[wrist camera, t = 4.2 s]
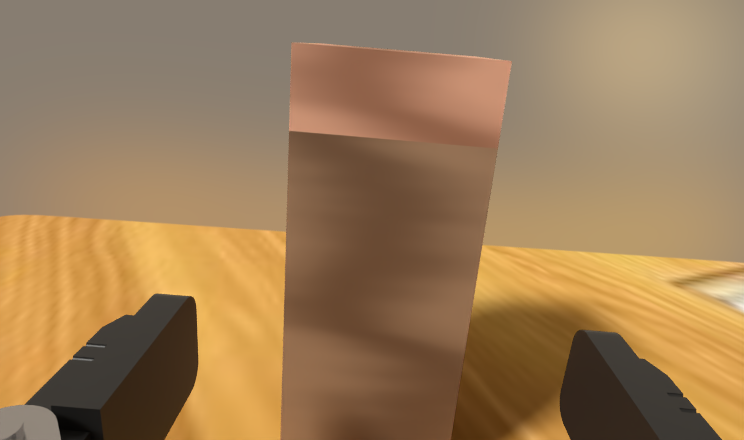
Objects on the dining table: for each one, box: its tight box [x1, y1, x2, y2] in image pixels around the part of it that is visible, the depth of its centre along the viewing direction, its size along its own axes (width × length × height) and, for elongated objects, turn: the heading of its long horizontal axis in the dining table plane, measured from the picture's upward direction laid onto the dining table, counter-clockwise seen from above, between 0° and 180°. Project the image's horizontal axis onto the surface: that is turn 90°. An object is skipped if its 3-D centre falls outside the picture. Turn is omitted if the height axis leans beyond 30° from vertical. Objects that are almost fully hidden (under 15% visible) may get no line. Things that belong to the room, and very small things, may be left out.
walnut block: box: [281, 43, 512, 440], centre depth 16 cm, size 5×5×12 cm
